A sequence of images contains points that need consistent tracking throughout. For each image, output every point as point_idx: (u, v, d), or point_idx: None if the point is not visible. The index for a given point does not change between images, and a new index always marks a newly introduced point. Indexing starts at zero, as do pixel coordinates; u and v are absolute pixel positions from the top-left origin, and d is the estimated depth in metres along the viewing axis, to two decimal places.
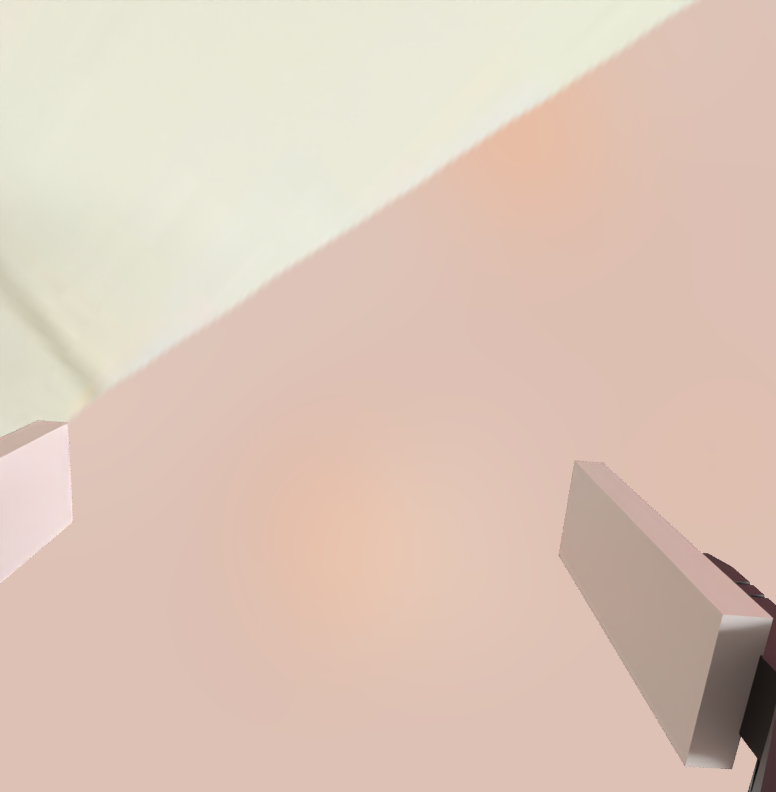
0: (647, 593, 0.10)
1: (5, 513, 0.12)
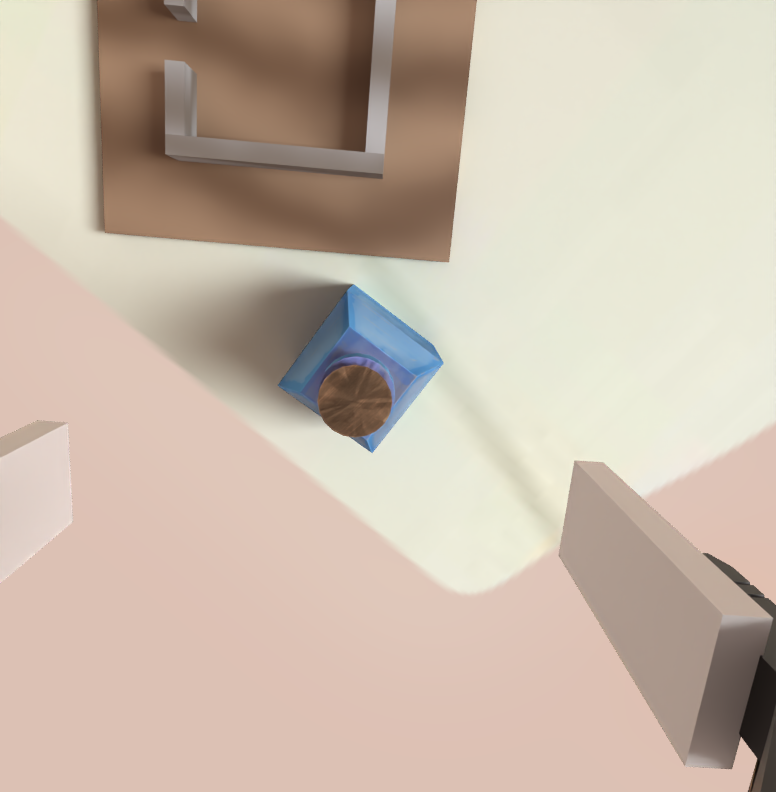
0: (647, 593, 0.10)
1: (5, 513, 0.12)
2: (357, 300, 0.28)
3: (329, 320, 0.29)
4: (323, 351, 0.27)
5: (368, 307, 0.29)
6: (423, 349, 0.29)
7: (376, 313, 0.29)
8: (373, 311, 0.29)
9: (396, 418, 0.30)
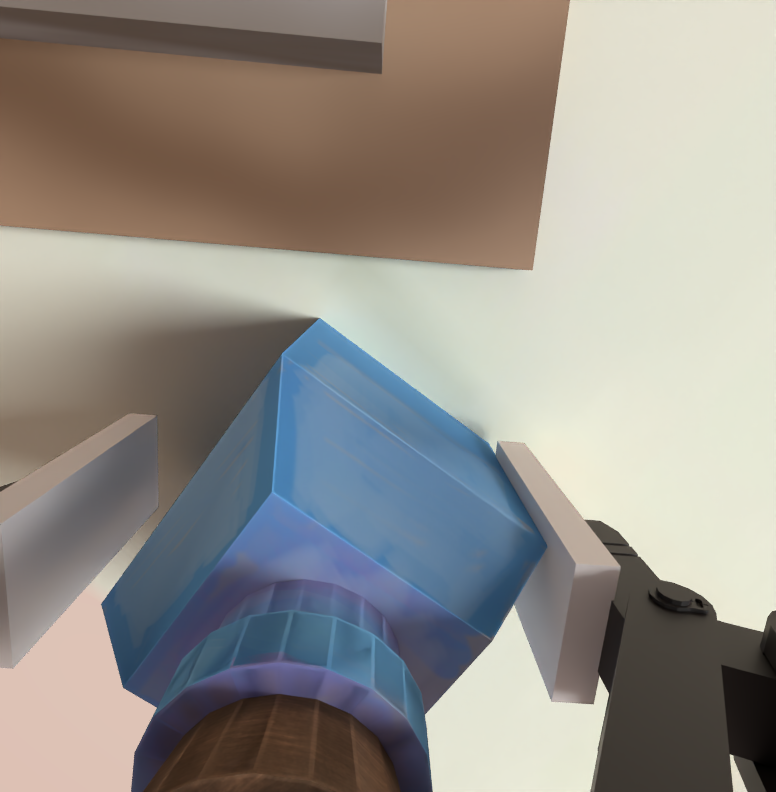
0: None
1: (115, 496, 0.13)
2: (309, 383, 0.10)
3: (229, 440, 0.10)
4: (199, 554, 0.09)
5: (342, 402, 0.10)
6: (495, 514, 0.11)
7: (365, 419, 0.10)
8: (356, 414, 0.10)
9: None
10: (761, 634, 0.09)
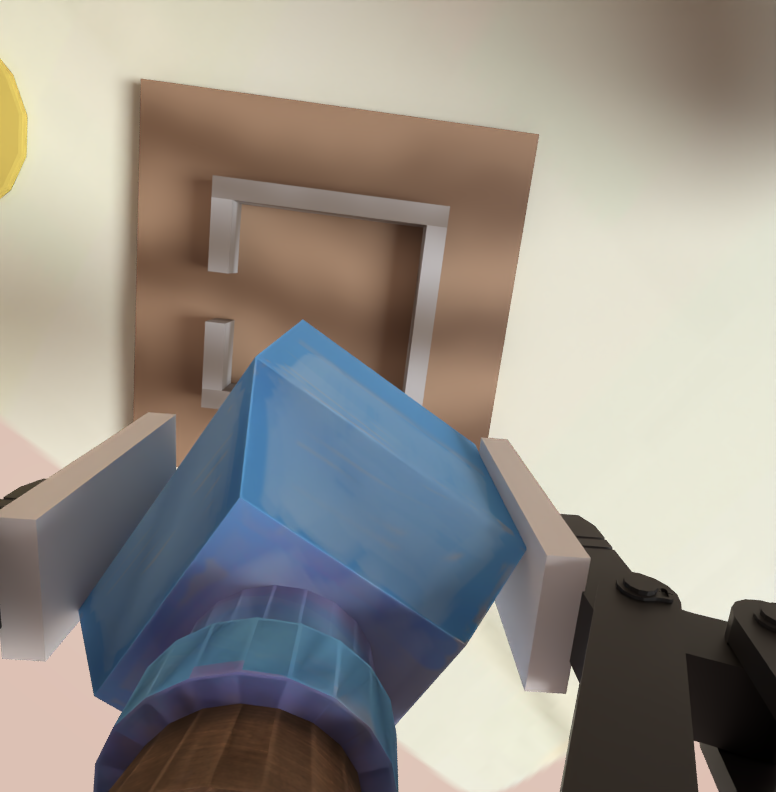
0: None
1: (137, 494, 0.13)
2: (283, 386, 0.10)
3: (203, 444, 0.10)
4: (170, 559, 0.09)
5: (317, 405, 0.10)
6: (474, 516, 0.10)
7: (340, 421, 0.10)
8: (332, 416, 0.10)
9: None
10: (725, 624, 0.09)
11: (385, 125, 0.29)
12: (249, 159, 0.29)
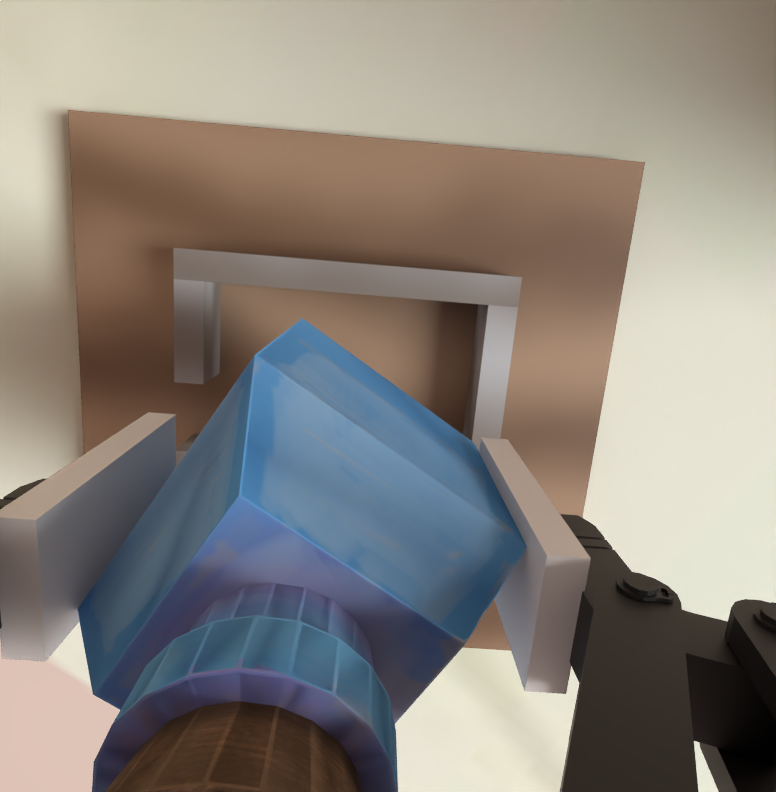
0: None
1: (137, 494, 0.13)
2: (283, 384, 0.10)
3: (202, 442, 0.10)
4: (169, 557, 0.09)
5: (316, 403, 0.10)
6: (473, 514, 0.10)
7: (340, 420, 0.10)
8: (331, 415, 0.10)
9: None
10: (725, 624, 0.09)
11: (421, 159, 0.20)
12: (229, 217, 0.20)
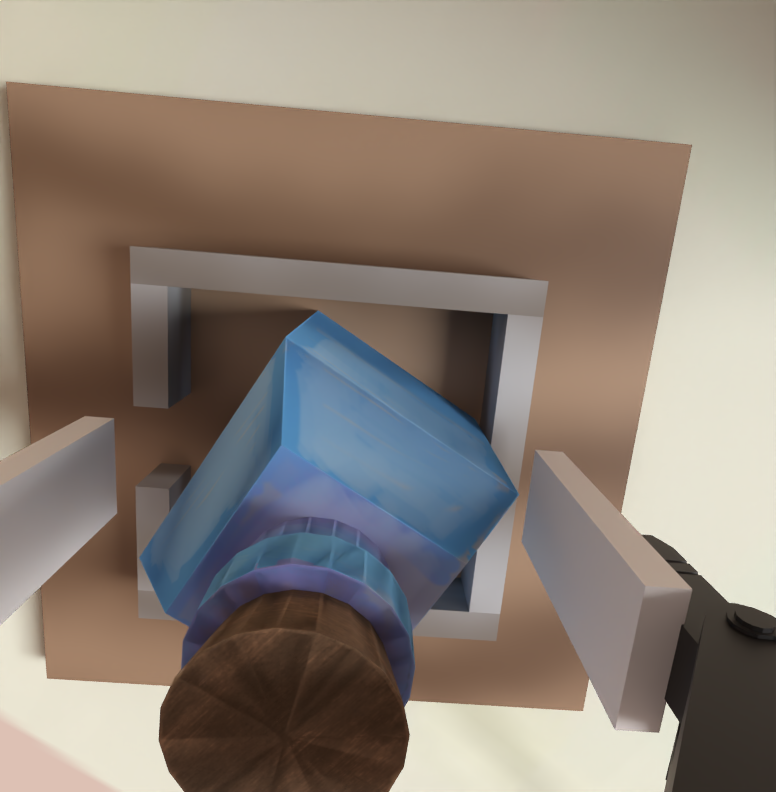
0: (589, 571, 0.11)
1: (62, 503, 0.13)
2: (310, 361, 0.12)
3: (243, 411, 0.12)
4: (223, 501, 0.11)
5: (338, 376, 0.12)
6: (472, 467, 0.12)
7: (358, 389, 0.12)
8: (350, 385, 0.12)
9: None
10: None
11: (427, 141, 0.17)
12: (199, 209, 0.17)
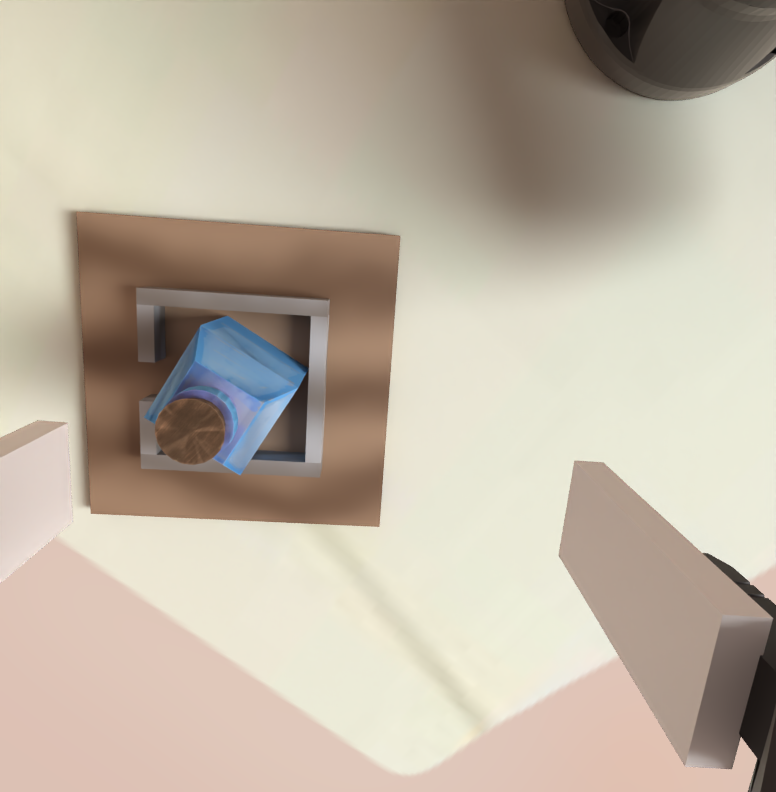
0: (647, 593, 0.10)
1: (5, 513, 0.12)
2: (210, 334, 0.30)
3: (184, 354, 0.30)
4: (176, 384, 0.29)
5: (221, 340, 0.31)
6: (277, 376, 0.31)
7: (229, 345, 0.31)
8: (226, 343, 0.31)
9: (257, 442, 0.32)
10: None
11: (275, 236, 0.36)
12: (168, 268, 0.36)
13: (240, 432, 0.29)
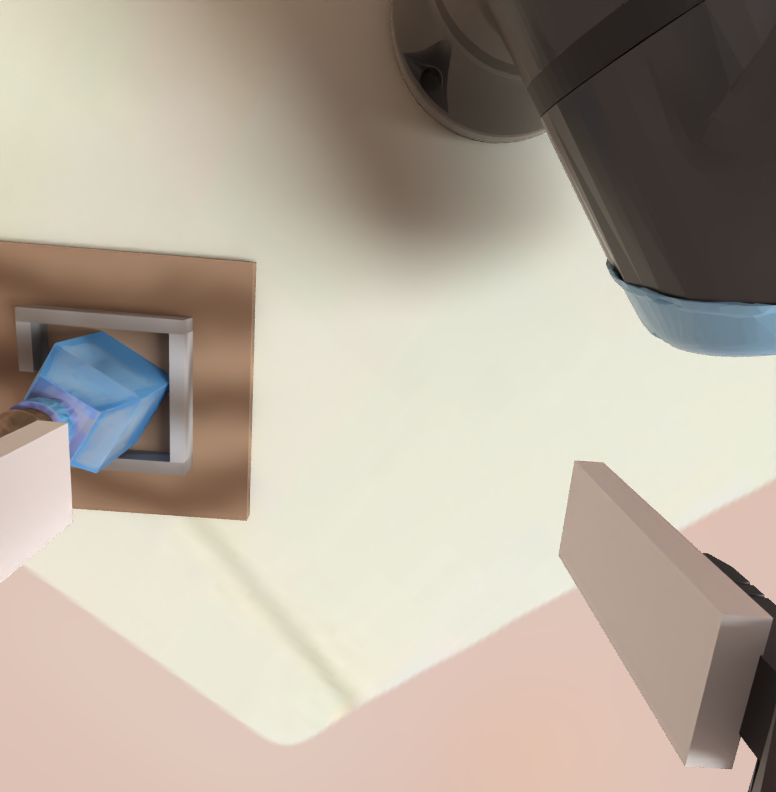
0: (647, 593, 0.10)
1: (5, 513, 0.12)
2: (62, 351, 0.35)
3: (41, 368, 0.35)
4: (27, 394, 0.34)
5: (73, 356, 0.35)
6: (123, 388, 0.36)
7: (80, 361, 0.35)
8: (77, 359, 0.35)
9: (107, 444, 0.36)
10: None
11: (142, 261, 0.40)
12: (48, 289, 0.41)
13: (81, 437, 0.34)
